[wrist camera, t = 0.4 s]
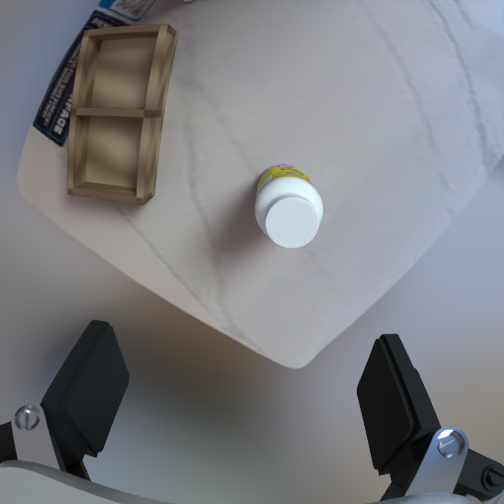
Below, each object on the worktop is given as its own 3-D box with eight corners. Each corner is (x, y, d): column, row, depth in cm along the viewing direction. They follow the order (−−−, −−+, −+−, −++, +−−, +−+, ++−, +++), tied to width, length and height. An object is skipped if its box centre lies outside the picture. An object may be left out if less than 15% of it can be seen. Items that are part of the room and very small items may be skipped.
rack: (101, 36, 28) (84, 30, 24) (178, 33, 28) (168, 24, 24) (84, 185, 37) (67, 194, 33) (154, 195, 38) (142, 205, 34)
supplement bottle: (320, 184, 37) (346, 219, 25) (287, 223, 39) (297, 272, 28) (278, 151, 35) (286, 170, 23) (246, 192, 37) (238, 231, 26)
